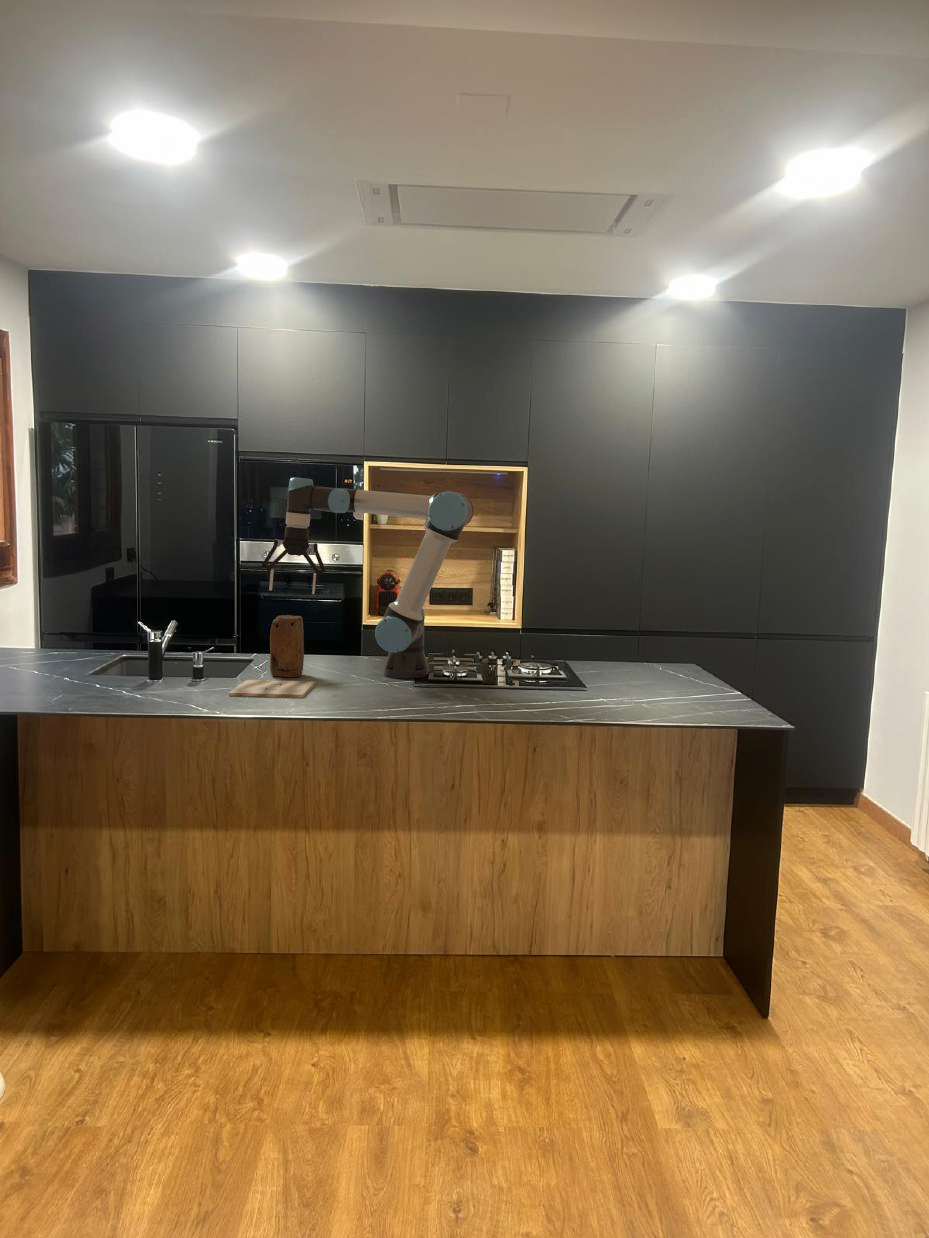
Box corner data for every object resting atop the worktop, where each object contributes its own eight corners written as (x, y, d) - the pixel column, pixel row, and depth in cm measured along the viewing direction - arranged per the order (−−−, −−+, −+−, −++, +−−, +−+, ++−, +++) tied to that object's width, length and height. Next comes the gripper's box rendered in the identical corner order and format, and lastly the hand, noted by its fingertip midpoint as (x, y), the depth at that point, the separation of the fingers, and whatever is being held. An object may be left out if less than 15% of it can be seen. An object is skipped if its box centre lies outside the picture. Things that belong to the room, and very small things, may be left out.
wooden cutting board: (315, 684, 266) (315, 681, 266) (302, 697, 248) (302, 694, 248) (246, 682, 267) (246, 679, 267) (228, 696, 249) (228, 692, 249)
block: (305, 674, 282) (305, 614, 279) (300, 678, 274) (299, 618, 272) (273, 673, 282) (272, 614, 279) (267, 677, 275) (266, 617, 272)
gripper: (336, 529, 275) (330, 593, 279) (258, 521, 271) (253, 586, 274) (336, 531, 268) (330, 596, 271) (256, 523, 264) (251, 589, 267)
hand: (292, 591), depth 273 cm, fingers open, 13 cm apart
